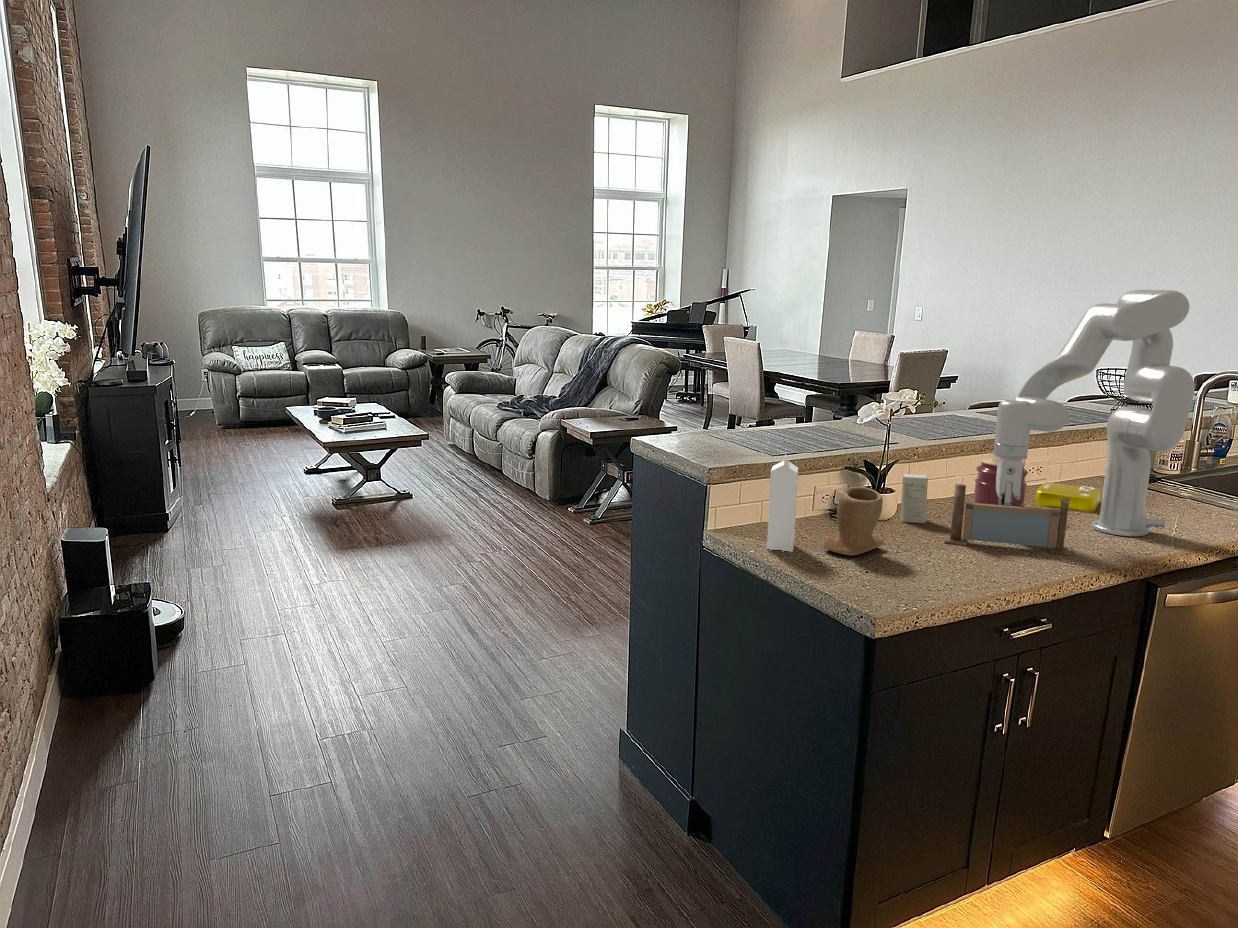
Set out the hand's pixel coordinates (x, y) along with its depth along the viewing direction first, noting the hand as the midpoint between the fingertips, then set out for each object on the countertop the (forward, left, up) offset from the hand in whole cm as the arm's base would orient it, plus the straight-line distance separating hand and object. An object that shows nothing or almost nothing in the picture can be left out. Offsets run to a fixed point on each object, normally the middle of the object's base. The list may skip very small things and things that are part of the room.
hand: (1002, 523), depth 209 cm
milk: (+50, +29, -3) cm, 58 cm away
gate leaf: (-1, +9, -2) cm, 9 cm away
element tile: (-21, -43, -4) cm, 48 cm away
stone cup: (+33, +25, -4) cm, 41 cm away
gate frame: (0, +9, -3) cm, 10 cm away
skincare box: (+21, -7, -3) cm, 22 cm away
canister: (-1, -25, -4) cm, 25 cm away
